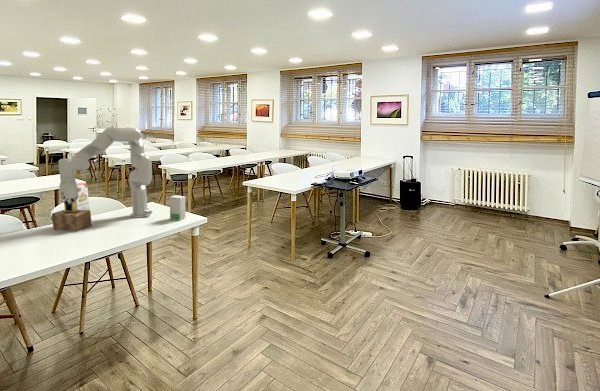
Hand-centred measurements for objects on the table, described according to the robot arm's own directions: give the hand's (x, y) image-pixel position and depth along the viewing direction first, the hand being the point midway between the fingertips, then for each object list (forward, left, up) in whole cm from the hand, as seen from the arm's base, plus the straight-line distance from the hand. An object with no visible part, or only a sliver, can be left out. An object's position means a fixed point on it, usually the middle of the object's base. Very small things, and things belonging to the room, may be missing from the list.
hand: (71, 209), depth 224 cm
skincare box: (-51, -34, -12) cm, 62 cm away
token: (0, 0, -1) cm, 1 cm away
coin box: (0, 0, -11) cm, 11 cm away
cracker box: (+18, -28, -12) cm, 35 cm away
